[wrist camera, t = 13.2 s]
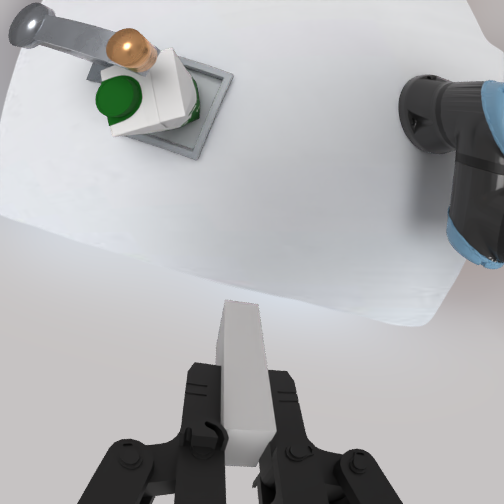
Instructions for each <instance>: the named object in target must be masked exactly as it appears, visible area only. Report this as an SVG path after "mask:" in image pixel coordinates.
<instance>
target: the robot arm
mask: <svg viewBox="0 0 504 504" xmlns="http://www.w3.org/2000/svg"><path fill="white" fill-rule="evenodd" d="M399 115H400V120H401V124H402V126H403V129H404V131H405V133H406V135H407V136H408V138H409V139H410V141H411V142H412V143H413V144H414V145H415V146H417V147H418V148H419V149H421V150H423V151H426V152H429V153H433V154H444V153H447V152H451V151H455V150H456V158H455V168H454V178H453V187H452V194H451V202H450V206H449V208H448V222H447V229H446V232H447V237H448V240H449V242H450V244H451V245H452V246H453V248H454V249H455V250H456V251H457V252H458V253H459V254H461V255H462V256H463V257H465V258H466V259H468V260H469V261H471V262H473V263H475V264H477V265H479V264H481V265H483V266H484V267H485V268H489V269H498V268H500V267H502V266H503V265H504V83H502V82H496V81H493V80H491V81H490V80H488V81H476V82H451V81H449V80H446V79H444V78H441V77H438V76H435V75H421V76H416V77H414V78H412V79H411V80H410V81H408V82H407V84H406V85H405V86H404V88H403V90H402V92H401V96H400V101H399ZM262 334H263V333H262V326H261V319H260V313H259V307H258V304H252V303H245V302H238V301H231V300H225V303H224V308H223V313H222V318H221V324H220V329H219V334H218V339H217V346H216V365H211V364H203V363H196V362H195V363H194V364H193V365H192V367H191V368H190V369H189V371H188V374H187V383H186V390H185V399H184V406H183V415H182V425H181V429H180V432H179V433H178V435H177V436H176V437H175V438H174V439H173V440H171V441H169V442H167V443H162V444H155V445H144V444H143V443H141V442H140V441H137V440H133V439H122V440H119V441H117V442H115V443H114V444H113V445H112V446H111V447H110V448H109V449H108V451H107V453H106V455H105V456H104V458H103V460H102V461H101V463H100V465H99V467H98V468H97V470H96V472H95V473H94V475H93V477H92V479H91V480H90V482H89V484H88V486H87V488H86V489H85V491H84V493H83V494H82V496H81V498H80V500H79V502H78V503H77V504H152V502H153V500H154V498H155V496H158V495H166V494H174V493H175V500H174V504H226V488H225V465H226V466H247V467H256V466H257V464H258V462H259V466H260V473H259V475H258V476H257V477H256V479H255V480H254V482H253V486H252V487H254V488H255V487H256V486H257V487H258V499H259V504H403V503H402V501H401V500H400V498H399V497H398V495H397V494H396V492H395V491H394V489H393V487H392V486H391V484H390V483H389V481H388V480H387V478H386V476H385V475H384V473H383V472H382V470H381V469H380V467H379V466H378V464H377V462H376V461H375V459H374V458H373V457H372V456H371V454H369V453H368V452H366V451H364V450H361V449H352V450H349V451H347V452H346V453H344V454H343V455H342V454H337V453H332V452H327V451H324V450H321V449H318V448H317V447H315V446H314V445H313V443H311V442H310V441H309V439H308V438H307V436H306V432H305V428H304V423H303V419H302V414H301V410H300V405H299V403H298V396H297V394H296V387H295V383H294V380H293V379H292V378H291V376H290V375H289V373H288V372H287V371H276V370H268V368H267V361H266V354H265V348H264V341H263V335H262Z"/></svg>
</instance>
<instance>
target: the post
mask: <svg viewBox="0 0 504 504" xmlns="http://www.w3.org/2000/svg"><path fill="white" fill-rule="evenodd" d="M39 45H42V46H46V47H49V48H52V49H55V50H58V51H61V52H64V53H67V54H70V55H73V56H76V57H79V58H82V59H84V60H87V61H90V62H93V64H92V67H91V69H90V72H89V74H88V77H87V79H86V80H90V81H95V82H99V83H101V82H102V78H101V70H104V69H106V68H109V67H111V66H114V65H113V64H111V63H108V62H105V61H102V60H100V59H97V58H94V57H91V56H88V55H85V54H82V53H79V52H76V51H72V50H69V49H66V48H63V47H59V46H56V45H52V44H49V43H45V42H42V43H41V44H39Z"/></svg>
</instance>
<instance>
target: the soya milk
mask: <svg viewBox="0 0 504 504" xmlns="http://www.w3.org/2000/svg"><path fill="white" fill-rule="evenodd" d="M101 78H102V82H101V86H100V87H99V89H98V91H97V94H96V106H97V108H98V110H99V111H100V112H101V113H102V114H103V115H105V116H107V118H108V123H109V126H110V127H111V133H112V137H117V136H126V135H137V134H146V133H154V132H161V131H167V130H171V129H175V128H179V127H182V126H184V125H186V124H188V123H190V122H192V121H194V120H196V119H198V118H199V113H200V100H199V94H198V89H197V84H196V82H195V80H194V79H193V78H192V76H191V75H190V74H189V72H188V71H187V70H186V68H185V67H184V65H183V64H182V62H181V60H180V59H179V57H178V56H177V54H176V52H175V51H174V49H173V48H168V49H164V50H161V52H160V54H159V55H158V57H157V60H156V62H155V64H154V65H153V66H152V67H151V68H150V70H149V72H148V74H147V75H146V77H144V76H141V75H139V74H137V73H134V72H132V71H129V70H126V69H124V68H121V67H119V66H116V65H114V66H111V67H109V68H106V69H104V70H101Z"/></svg>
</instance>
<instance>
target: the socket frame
mask: <svg viewBox="0 0 504 504" xmlns="http://www.w3.org/2000/svg"><path fill="white" fill-rule="evenodd" d="M178 57H179V56H178ZM179 59H180V60H181V62H182V64H183V65H184V67H185V68H188V69H191V70H194V71H198V72H201V73H204V74H207V75H210V76H213V77H216V78H218V79H221V80H223V81H222V83H221V86H220V88H219V90H218V92H217V94H216V97H215V99H214V101H213V104H212V106H211V108H210V110H209V113H208V115H207V117H206V120H205V122H204V125H203V127H202V129H201V132H200V134H199V137H198V139H197V142H196V144H195V147H194V149H190V148H188V147H185V146H182V145H179V144H176V143H173V142H170V141H167V140H164V139H161V138H158V137H155V136H152V135H149V134H137V135H126V137H129V138H132V139H135V140H139V141H142V142H145V143H148V144H151V145H154V146H157V147H160V148H163V149H166V150H169V151H172V152H174V153H177V154H180V155H183V156H186V157H189V158H191V159H194V160H197V159H198V158H199V155H200V153H201V150H202V148H203V145H204V143H205V140H206V138H207V136H208V133H209V131H210V128H211V126H212V124H213V121H214V119H215V117H216V114H217V112H218V110H219V107H220V105H221V103H222V101H223V98H224V96H225V94H226V92H227V89H228V87H229V85H230V83H231V81H232V79H233V74H232V73H229V72H226V71H223V70H221V69H218V68H215V67H212V66H209V65H206V64H203V63H199V62H196V61H193V60H190V59H186V58H183V57H179Z"/></svg>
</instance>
